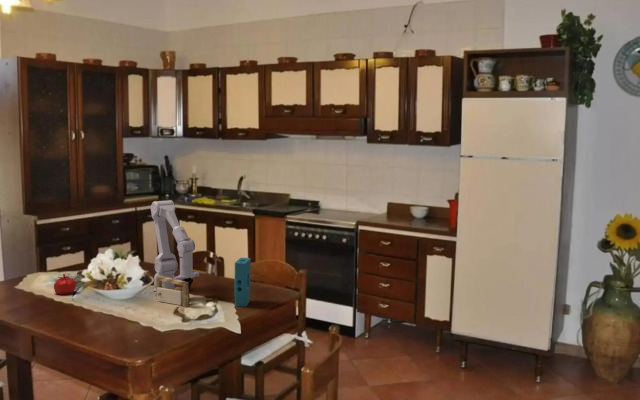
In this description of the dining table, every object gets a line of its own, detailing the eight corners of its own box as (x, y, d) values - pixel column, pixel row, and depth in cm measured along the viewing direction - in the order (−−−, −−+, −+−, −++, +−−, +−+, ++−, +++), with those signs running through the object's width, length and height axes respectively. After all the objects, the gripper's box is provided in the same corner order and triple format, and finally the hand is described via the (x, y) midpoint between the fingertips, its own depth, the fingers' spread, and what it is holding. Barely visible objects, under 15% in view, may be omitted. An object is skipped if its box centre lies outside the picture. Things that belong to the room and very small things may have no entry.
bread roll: (171, 311, 274) (174, 297, 270) (161, 297, 280) (165, 283, 277) (190, 307, 280) (194, 293, 277) (181, 294, 287) (184, 280, 283)
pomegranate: (71, 296, 282) (70, 277, 281) (50, 295, 282) (49, 276, 281) (80, 290, 292) (79, 271, 291) (59, 289, 292) (59, 271, 291)
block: (245, 307, 269) (245, 263, 267) (234, 307, 270) (234, 263, 268) (250, 300, 281) (251, 258, 279) (240, 299, 282) (240, 257, 280)
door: (155, 301, 275) (155, 288, 275) (158, 300, 277) (158, 287, 277) (181, 306, 269) (181, 292, 268) (184, 304, 271) (184, 291, 270)
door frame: (156, 299, 279) (156, 276, 278) (159, 298, 281) (159, 275, 279) (185, 307, 268) (185, 282, 267) (188, 306, 270) (188, 282, 269)
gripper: (180, 269, 273) (180, 298, 274) (203, 264, 285) (203, 292, 286) (169, 267, 277) (170, 296, 278) (193, 262, 289) (193, 289, 290)
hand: (186, 294), depth 283 cm, fingers closed, pressing on bread roll
